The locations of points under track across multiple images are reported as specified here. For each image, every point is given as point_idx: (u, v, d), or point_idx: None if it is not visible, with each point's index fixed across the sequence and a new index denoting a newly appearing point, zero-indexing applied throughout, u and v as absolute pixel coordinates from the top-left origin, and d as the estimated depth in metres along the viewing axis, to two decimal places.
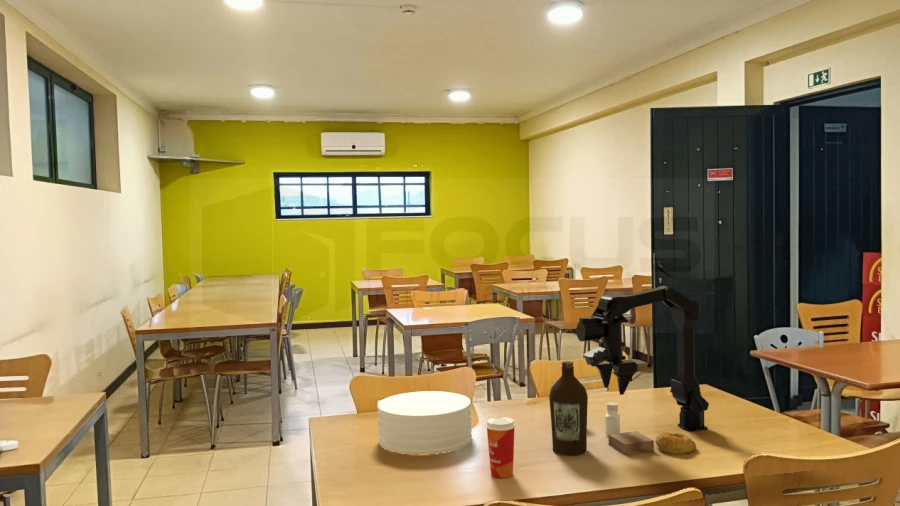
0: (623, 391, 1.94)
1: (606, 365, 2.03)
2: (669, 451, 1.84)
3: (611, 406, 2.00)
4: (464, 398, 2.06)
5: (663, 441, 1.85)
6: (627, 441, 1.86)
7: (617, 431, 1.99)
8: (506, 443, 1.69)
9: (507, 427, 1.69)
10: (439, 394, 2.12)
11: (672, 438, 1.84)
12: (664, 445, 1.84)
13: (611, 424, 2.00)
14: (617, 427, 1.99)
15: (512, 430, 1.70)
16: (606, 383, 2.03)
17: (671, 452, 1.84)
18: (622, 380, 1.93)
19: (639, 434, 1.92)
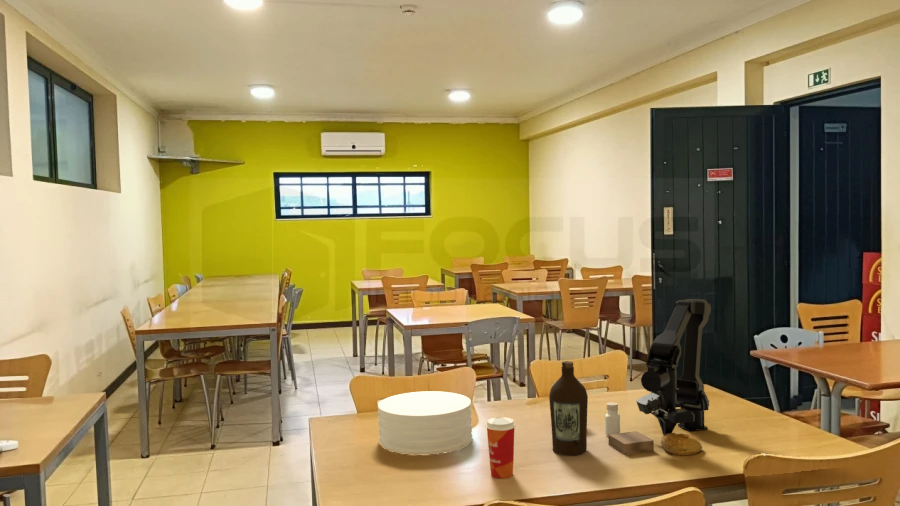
0: None
1: None
2: (675, 452, 1.83)
3: (611, 406, 2.00)
4: (464, 398, 2.06)
5: (669, 441, 1.84)
6: (627, 441, 1.86)
7: (617, 431, 1.99)
8: (506, 443, 1.69)
9: (507, 427, 1.69)
10: (439, 394, 2.12)
11: (678, 439, 1.83)
12: (669, 445, 1.83)
13: (611, 424, 2.00)
14: (617, 427, 1.99)
15: (512, 430, 1.70)
16: None
17: (677, 453, 1.83)
18: (668, 425, 1.90)
19: (639, 434, 1.92)
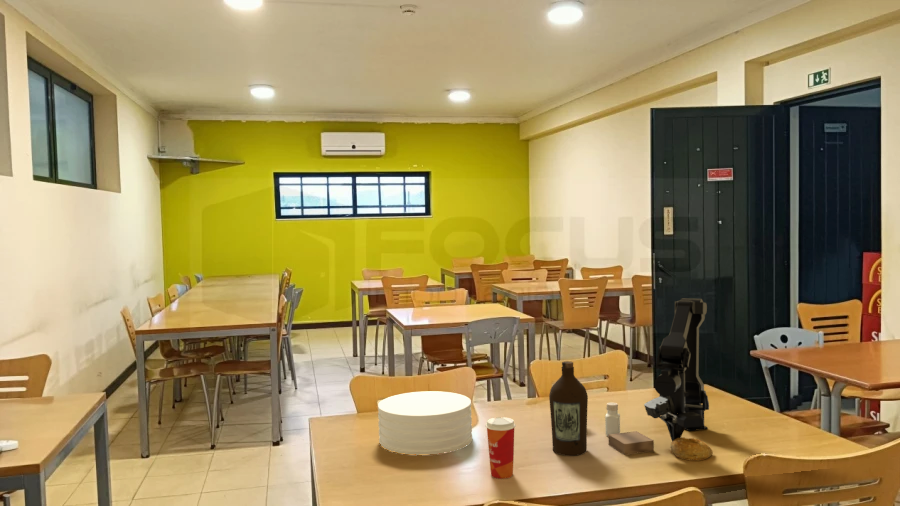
0: None
1: None
2: (685, 457, 1.79)
3: (611, 406, 2.00)
4: (464, 398, 2.06)
5: (679, 446, 1.80)
6: (627, 441, 1.86)
7: (617, 431, 1.99)
8: (506, 443, 1.69)
9: (507, 427, 1.69)
10: (439, 394, 2.12)
11: (688, 444, 1.79)
12: (679, 450, 1.80)
13: (611, 424, 2.00)
14: (617, 427, 1.99)
15: (512, 430, 1.70)
16: (674, 438, 1.88)
17: (687, 458, 1.79)
18: (676, 429, 1.86)
19: (639, 434, 1.92)
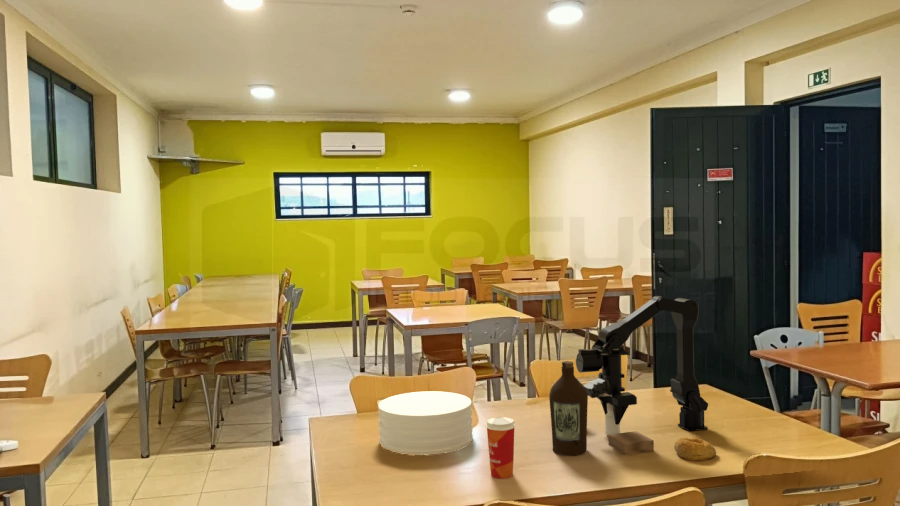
0: (619, 421, 1.98)
1: (608, 397, 2.04)
2: (689, 457, 1.79)
3: (611, 406, 2.00)
4: (465, 398, 2.06)
5: (683, 447, 1.80)
6: (627, 441, 1.86)
7: (617, 431, 1.99)
8: (506, 443, 1.69)
9: (507, 427, 1.69)
10: (440, 394, 2.11)
11: (692, 444, 1.79)
12: (683, 451, 1.79)
13: (611, 424, 2.00)
14: (617, 427, 1.99)
15: (512, 430, 1.70)
16: None
17: (691, 458, 1.79)
18: (618, 410, 1.97)
19: (639, 434, 1.92)
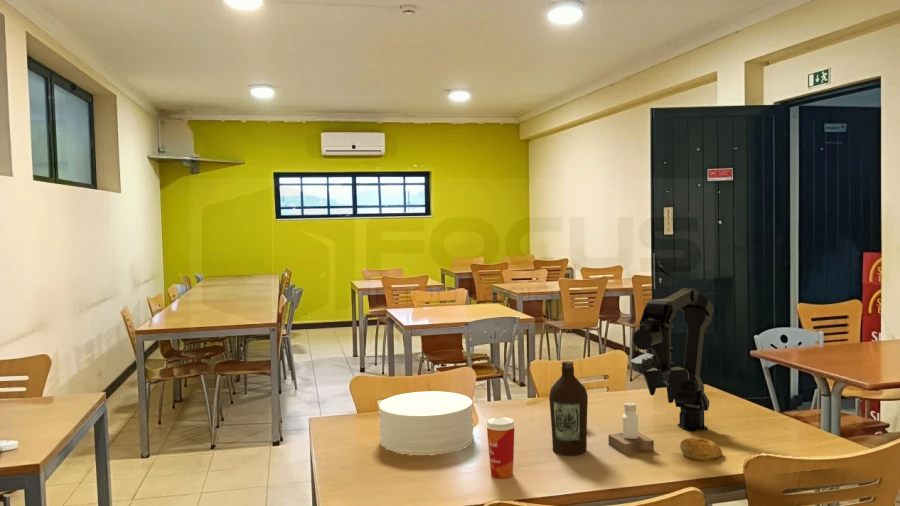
0: (672, 399, 1.87)
1: (652, 372, 1.97)
2: (695, 457, 1.79)
3: (629, 406, 1.88)
4: (465, 398, 2.05)
5: (689, 447, 1.79)
6: (627, 441, 1.86)
7: (635, 433, 1.87)
8: (506, 443, 1.69)
9: (507, 427, 1.69)
10: (440, 394, 2.11)
11: (698, 444, 1.79)
12: (690, 451, 1.79)
13: (629, 425, 1.88)
14: (635, 429, 1.87)
15: (512, 430, 1.70)
16: (652, 390, 1.96)
17: (697, 458, 1.78)
18: (671, 388, 1.86)
19: (639, 434, 1.92)
